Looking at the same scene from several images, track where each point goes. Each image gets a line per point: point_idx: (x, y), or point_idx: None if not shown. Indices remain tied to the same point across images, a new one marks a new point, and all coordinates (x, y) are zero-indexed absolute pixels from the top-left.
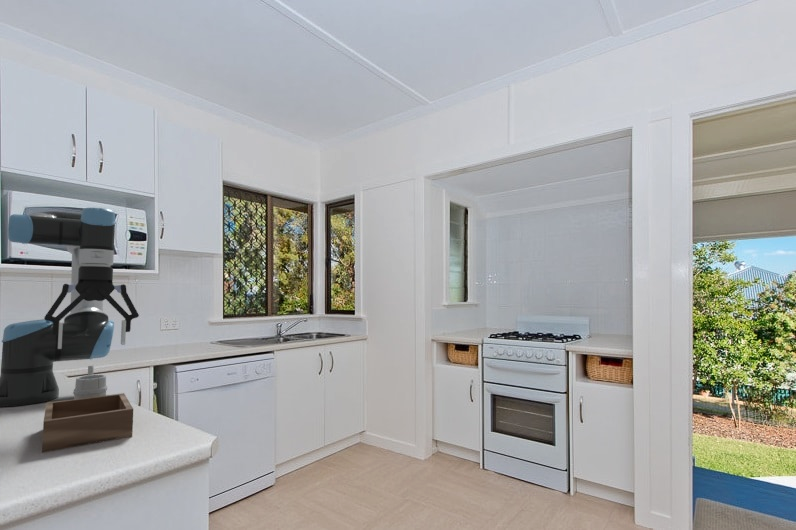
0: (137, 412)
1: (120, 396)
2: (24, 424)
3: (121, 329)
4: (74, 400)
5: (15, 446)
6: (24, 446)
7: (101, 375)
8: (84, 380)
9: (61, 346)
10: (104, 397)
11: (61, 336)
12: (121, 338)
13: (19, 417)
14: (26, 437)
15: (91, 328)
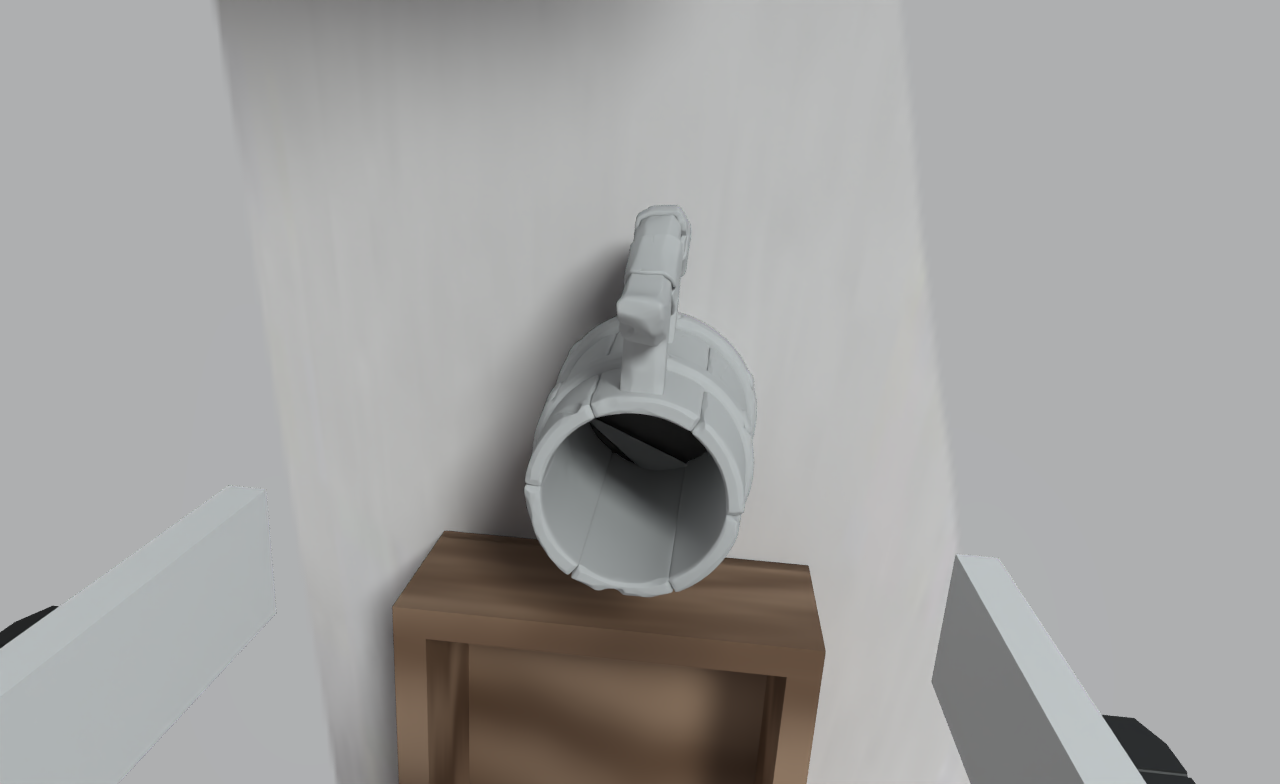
0: (903, 513)
1: (782, 731)
2: (346, 358)
3: (1033, 699)
4: (535, 649)
5: (356, 726)
6: (387, 749)
7: (716, 462)
8: (577, 578)
9: (260, 627)
10: (700, 665)
11: (175, 711)
12: (969, 661)
13: (299, 144)
14: (381, 623)
15: None
